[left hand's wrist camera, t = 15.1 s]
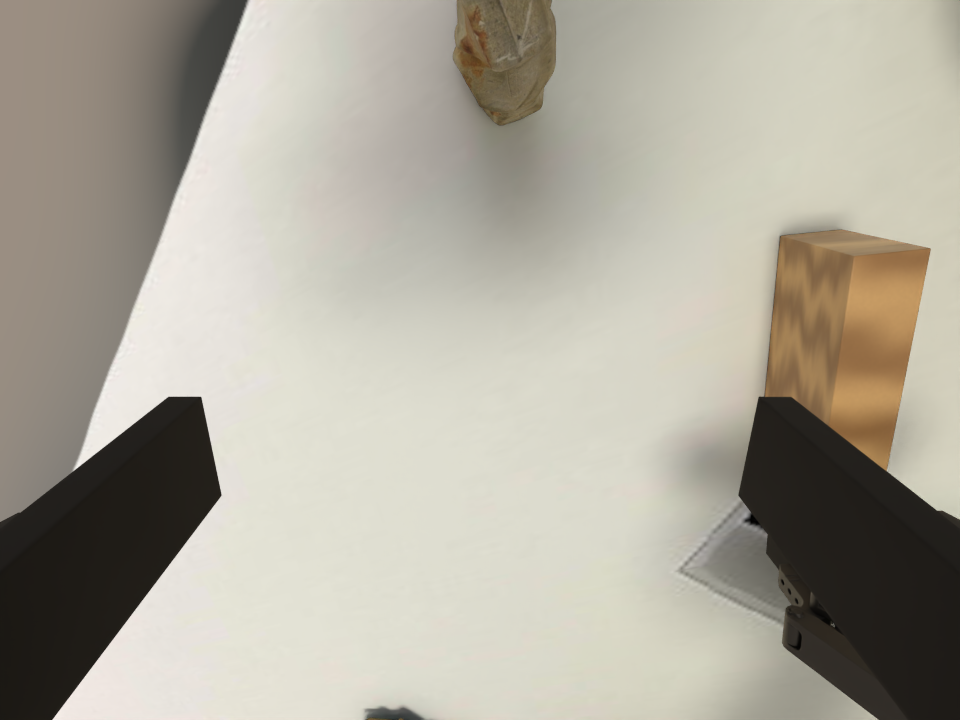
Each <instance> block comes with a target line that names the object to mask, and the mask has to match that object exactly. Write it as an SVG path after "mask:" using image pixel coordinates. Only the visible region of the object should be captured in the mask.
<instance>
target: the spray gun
mask: <svg viewBox="0 0 960 720" xmlns="http://www.w3.org/2000/svg"><path fill="white" fill-rule="evenodd" d="M366 720H390V719H379V718H368V719H366ZM398 720H403V719H402V718H400V719H398Z"/></svg>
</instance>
